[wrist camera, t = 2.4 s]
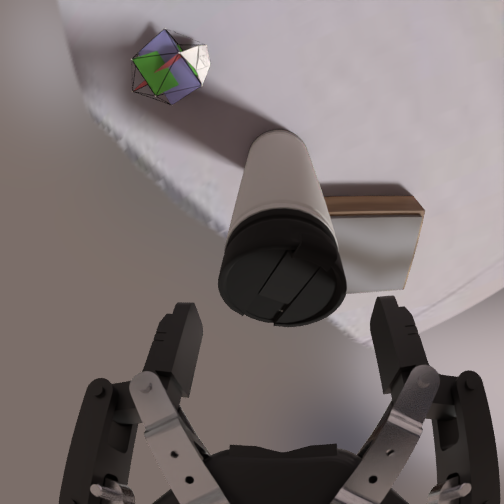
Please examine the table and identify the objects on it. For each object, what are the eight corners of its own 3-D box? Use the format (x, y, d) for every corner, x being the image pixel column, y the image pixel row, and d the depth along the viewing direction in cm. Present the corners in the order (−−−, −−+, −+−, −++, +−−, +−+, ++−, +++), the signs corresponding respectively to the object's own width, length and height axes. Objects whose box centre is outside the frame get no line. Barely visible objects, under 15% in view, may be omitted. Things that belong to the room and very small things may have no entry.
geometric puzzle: (146, 123, 25) (161, 108, 18) (113, 72, 21) (117, 42, 15) (203, 88, 26) (236, 67, 20) (172, 40, 23) (196, 7, 16)
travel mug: (320, 142, 27) (381, 273, 12) (292, 192, 31) (305, 351, 15) (264, 116, 26) (248, 217, 10) (239, 170, 30) (198, 320, 14)
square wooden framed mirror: (317, 196, 31) (322, 214, 28) (413, 196, 30) (426, 213, 27) (315, 276, 38) (318, 298, 35) (396, 272, 37) (404, 292, 34)
